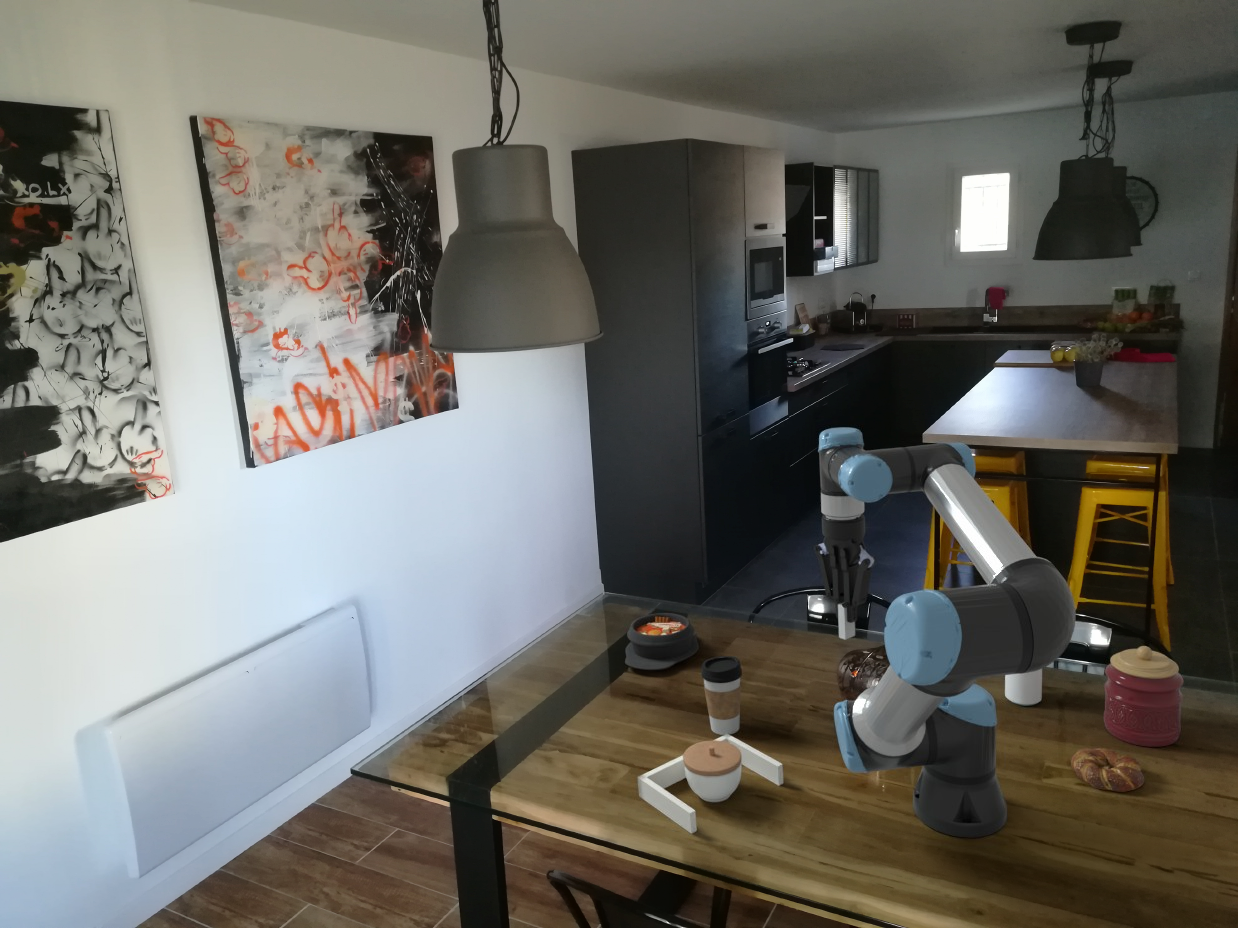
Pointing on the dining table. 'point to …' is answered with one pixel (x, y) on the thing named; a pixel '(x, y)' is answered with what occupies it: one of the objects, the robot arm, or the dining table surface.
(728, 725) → the coffee cup
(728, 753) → the lidded jar
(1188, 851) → the dining table surface
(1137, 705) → the canister
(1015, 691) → the can
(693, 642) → the casserole
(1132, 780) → the pretzel
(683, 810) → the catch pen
